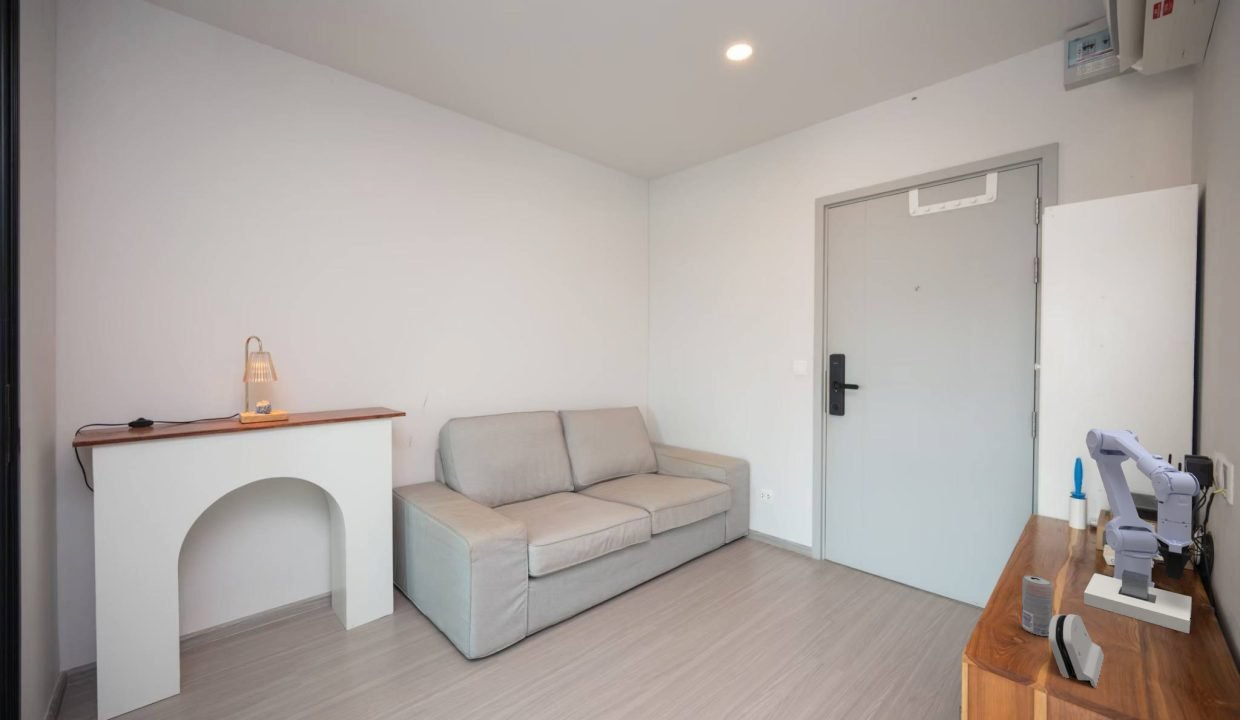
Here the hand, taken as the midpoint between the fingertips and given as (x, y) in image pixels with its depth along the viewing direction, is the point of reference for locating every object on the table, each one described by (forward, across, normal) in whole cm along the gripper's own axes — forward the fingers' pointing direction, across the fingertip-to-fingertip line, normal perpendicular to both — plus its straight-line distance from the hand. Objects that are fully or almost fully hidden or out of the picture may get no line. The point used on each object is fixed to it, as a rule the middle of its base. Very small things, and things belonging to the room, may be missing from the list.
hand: (1173, 573), depth 126 cm
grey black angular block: (+10, +48, -15) cm, 51 cm away
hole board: (+9, +4, -6) cm, 12 cm away
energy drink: (+10, +38, -22) cm, 45 cm away
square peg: (+10, +4, -7) cm, 12 cm away
